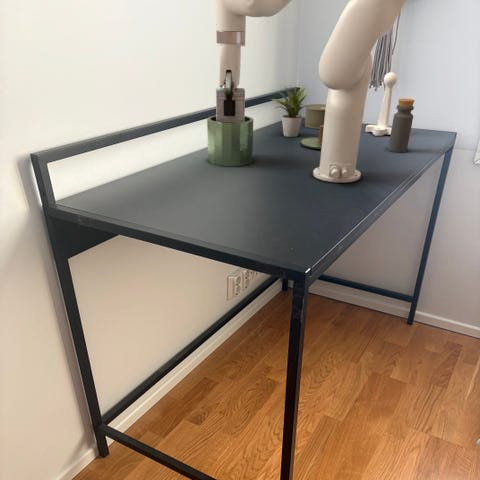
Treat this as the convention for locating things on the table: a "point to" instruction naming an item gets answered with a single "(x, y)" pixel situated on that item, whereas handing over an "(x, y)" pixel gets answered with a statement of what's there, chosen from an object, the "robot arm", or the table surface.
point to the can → (315, 115)
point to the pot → (230, 142)
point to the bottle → (401, 126)
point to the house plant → (291, 112)
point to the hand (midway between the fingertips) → (230, 113)
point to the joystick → (384, 108)
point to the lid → (314, 140)
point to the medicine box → (239, 107)
